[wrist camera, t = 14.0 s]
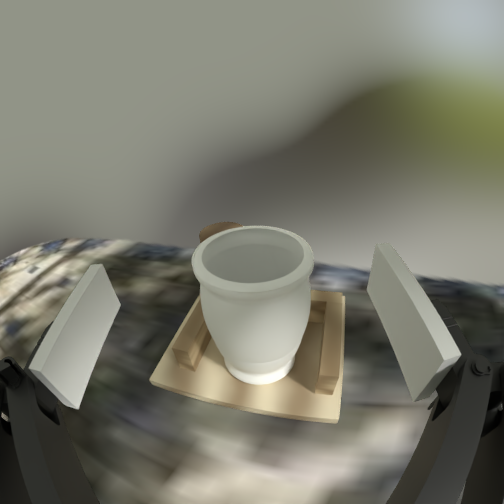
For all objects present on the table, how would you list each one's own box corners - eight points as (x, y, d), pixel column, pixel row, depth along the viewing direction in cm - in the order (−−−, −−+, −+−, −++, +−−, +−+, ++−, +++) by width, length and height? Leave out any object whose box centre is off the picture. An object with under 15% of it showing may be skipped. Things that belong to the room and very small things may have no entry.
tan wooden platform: (343, 302, 40) (355, 231, 34) (336, 423, 24) (366, 361, 18) (208, 286, 46) (197, 220, 39) (152, 384, 29) (113, 316, 23)
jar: (199, 369, 30) (166, 266, 22) (244, 316, 38) (234, 217, 30) (279, 408, 25) (282, 309, 17) (316, 342, 33) (330, 237, 25)
